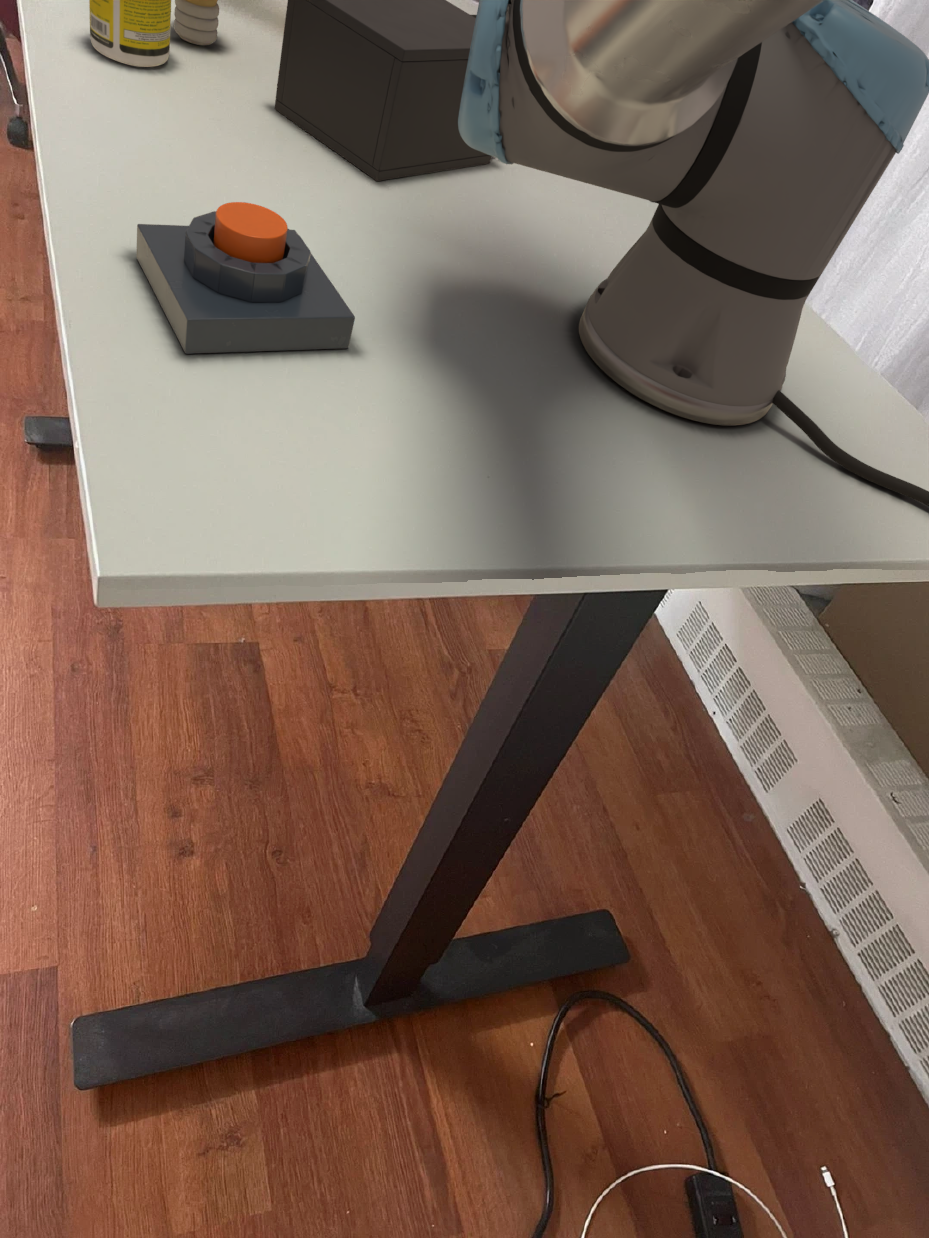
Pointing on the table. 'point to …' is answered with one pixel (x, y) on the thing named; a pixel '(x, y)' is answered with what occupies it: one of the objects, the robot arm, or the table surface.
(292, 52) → the cabinet
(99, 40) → the pill bottle
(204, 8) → the light bulb
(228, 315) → the control box
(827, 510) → the table surface
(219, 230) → the button
